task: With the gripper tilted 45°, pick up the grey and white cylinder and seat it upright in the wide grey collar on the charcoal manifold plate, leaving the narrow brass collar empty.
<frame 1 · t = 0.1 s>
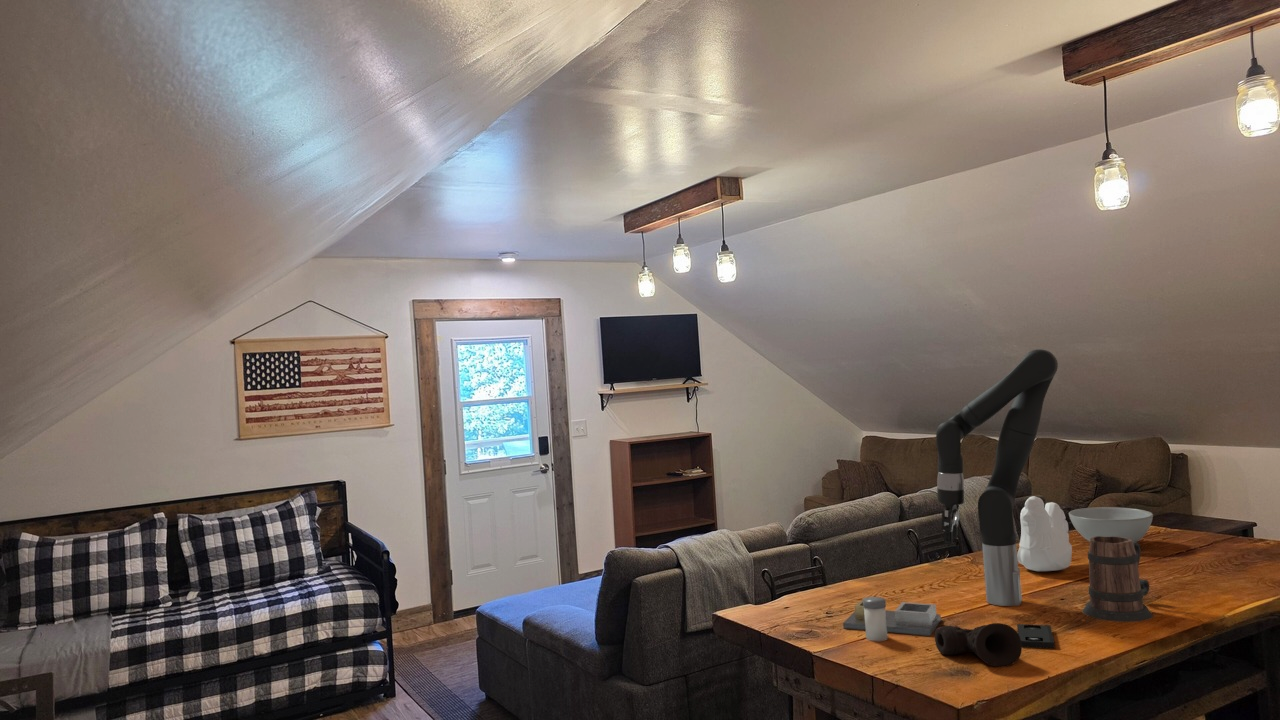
hand: (950, 541, 252), 17 cm above the table, tool pointing down, fingers open, 8 cm apart
manifold plate: (892, 624, 232), on the table
white figurine: (1052, 569, 279), on the table
decorative bowl: (1112, 547, 306), on the table
vhs tape: (1035, 641, 212), on the table
tankard: (1123, 611, 230), on the table
pipe: (978, 658, 202), on the table
grey and white cylinder: (876, 638, 221), on the table
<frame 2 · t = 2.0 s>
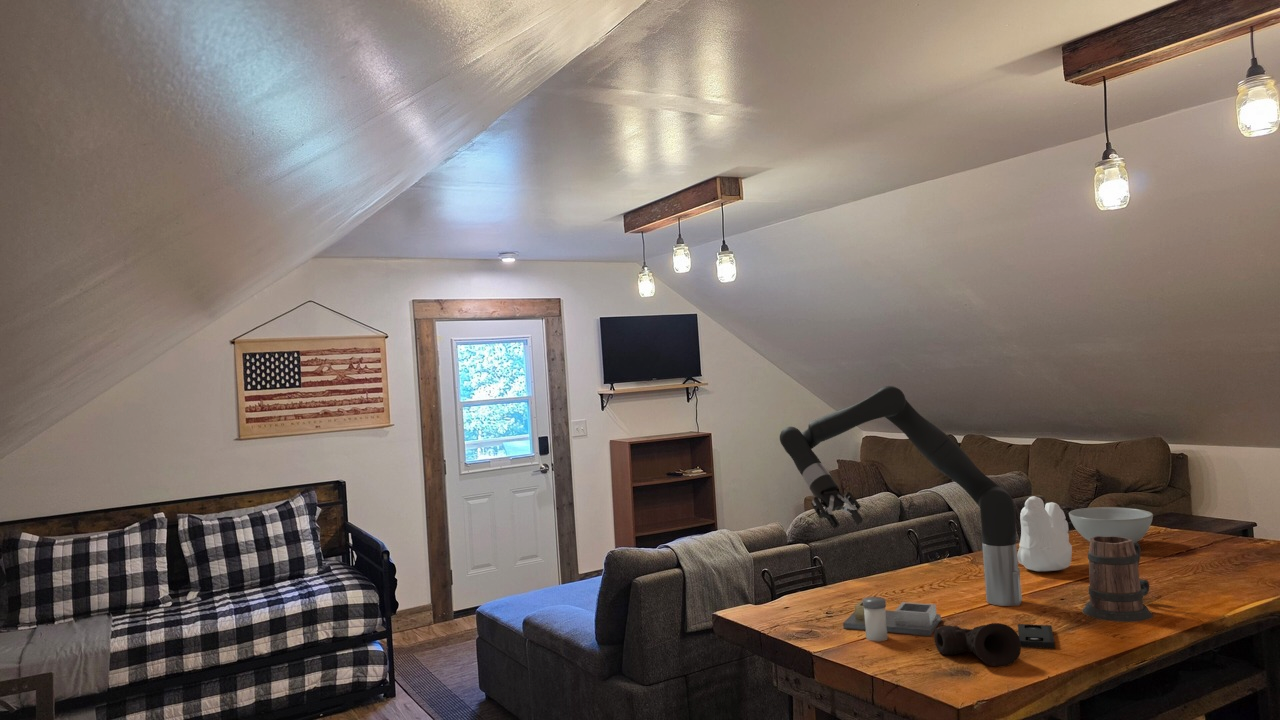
hand: (849, 525, 240), 26 cm above the table, tool tilted 45°, fingers open, 8 cm apart
nothing on the table moved.
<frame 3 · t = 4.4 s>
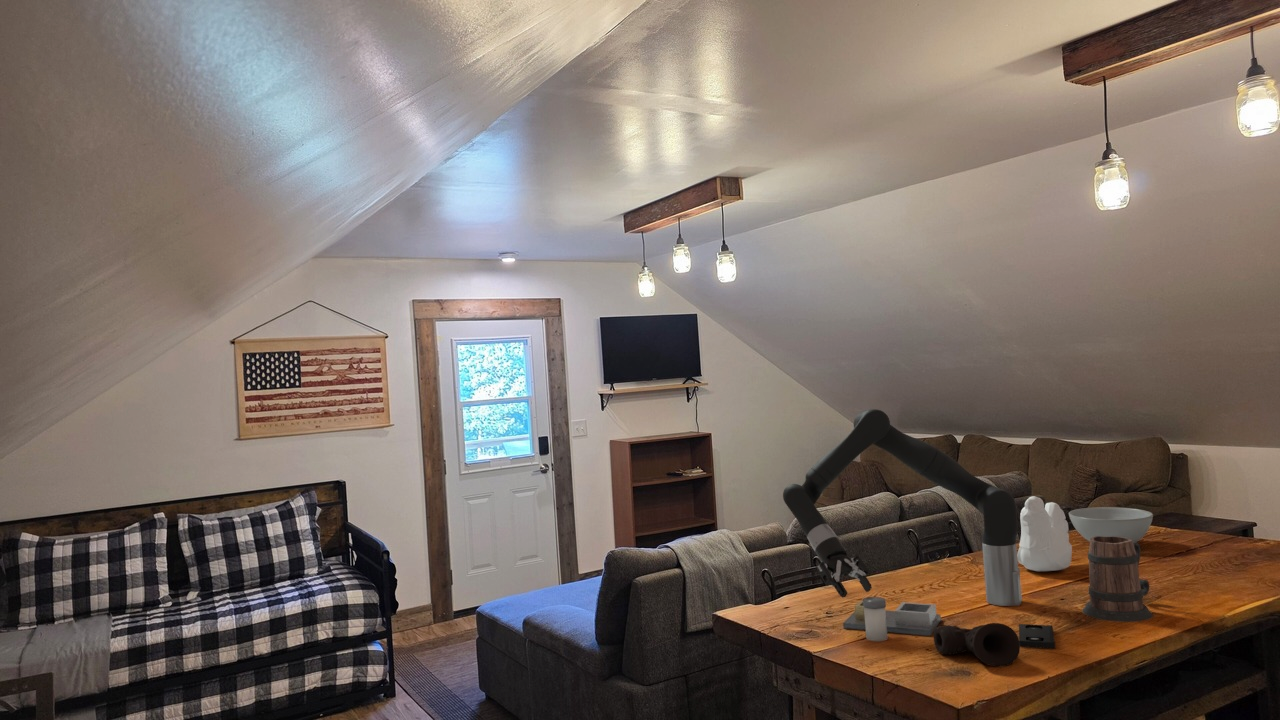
hand: (857, 592, 227), 11 cm above the table, tool tilted 45°, fingers open, 8 cm apart
nothing on the table moved.
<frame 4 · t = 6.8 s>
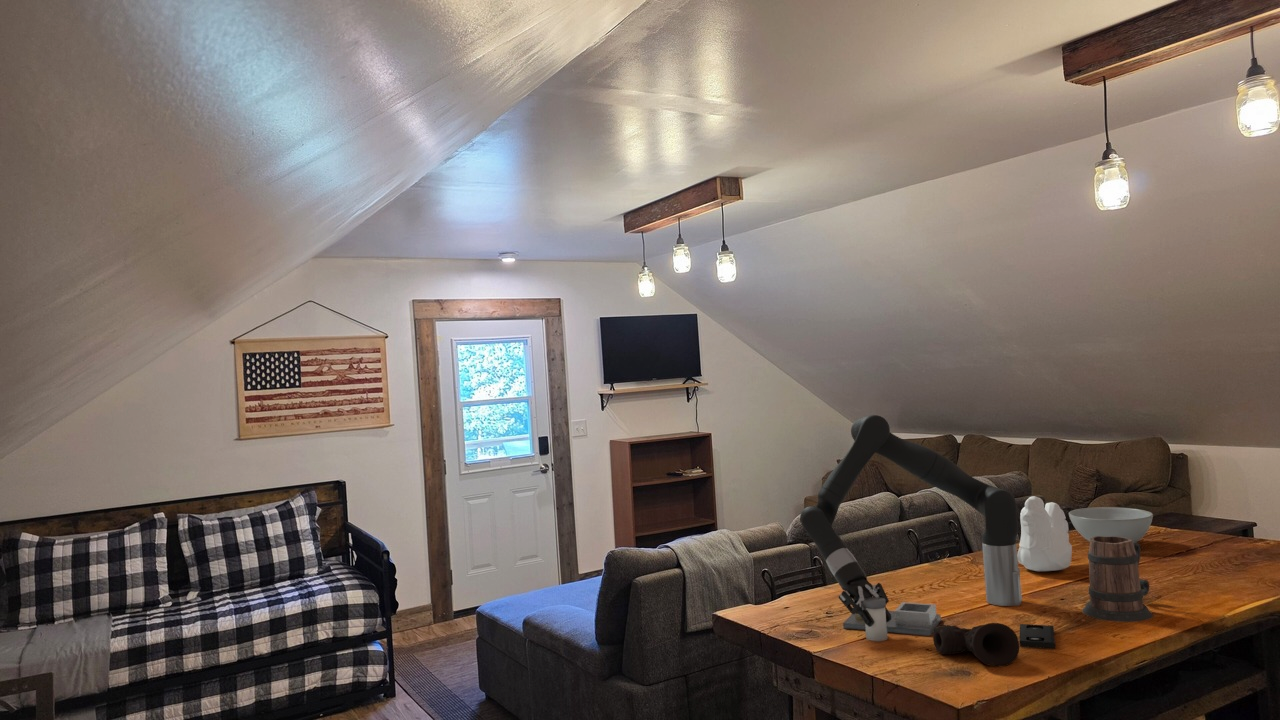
hand: (880, 622, 220), 4 cm above the table, tool tilted 45°, fingers closed on grey and white cylinder, 5 cm apart
grey and white cylinder: (876, 637, 221), on the table, touching gripper
everything else where it was.
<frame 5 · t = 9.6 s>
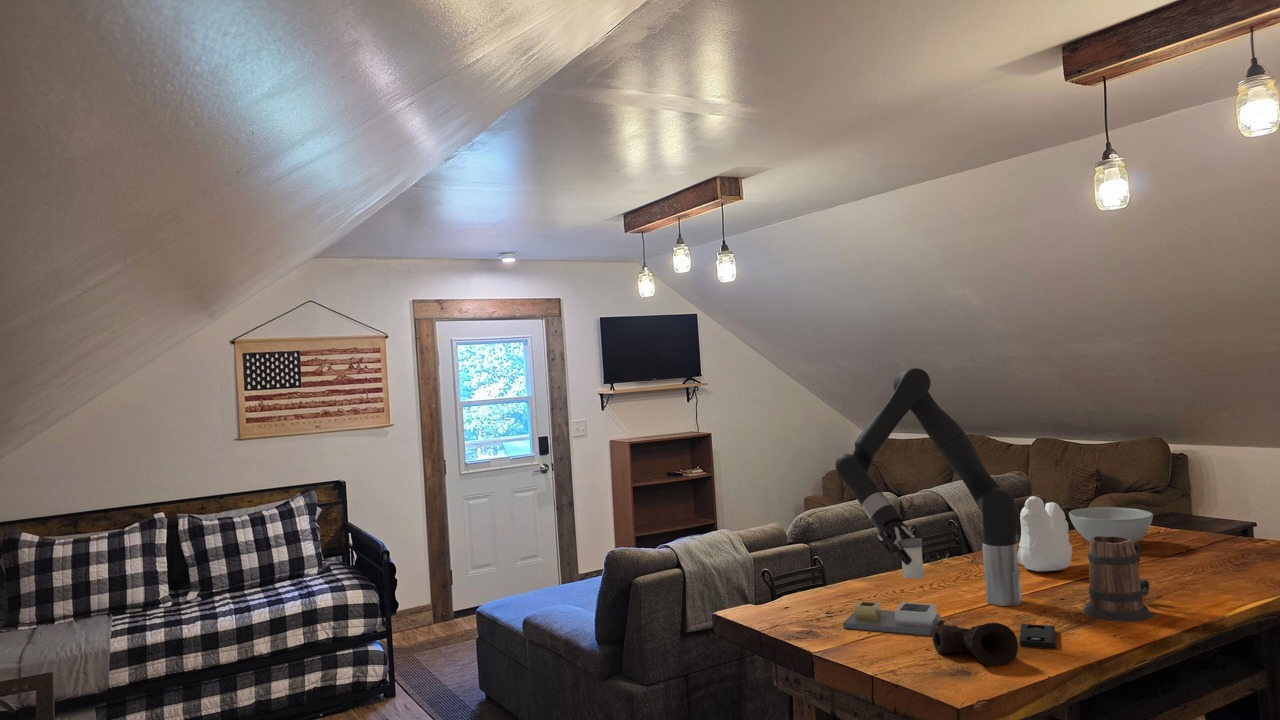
hand: (917, 560, 227), 18 cm above the table, tool tilted 45°, fingers closed on grey and white cylinder, 5 cm apart
grey and white cylinder: (913, 576, 229), point 14 cm above the table, touching gripper
everything else where it was.
when the fingers open (8 cm above the table, at t = 12.6 s): grey and white cylinder drops 2 cm, resting on manifold plate.
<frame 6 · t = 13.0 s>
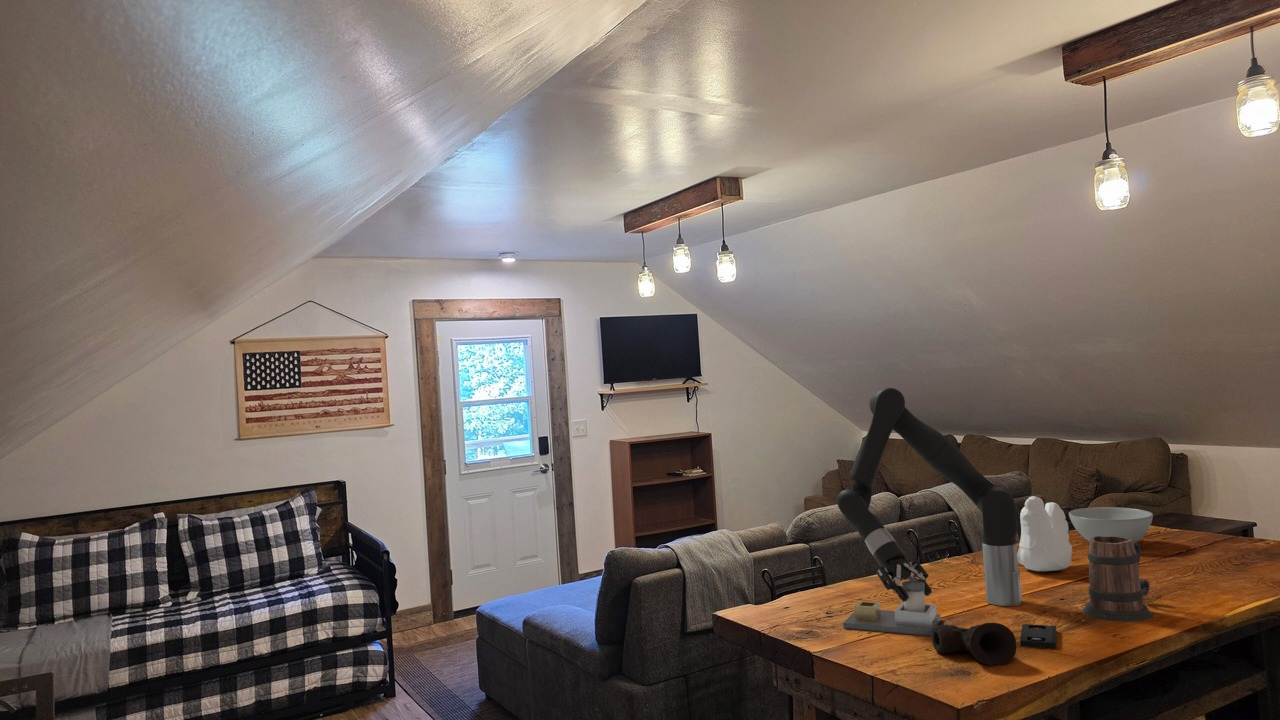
hand: (918, 597, 228), 8 cm above the table, tool tilted 45°, fingers open, 8 cm apart
grey and white cylinder: (915, 620, 229), point 2 cm above the table, touching manifold plate
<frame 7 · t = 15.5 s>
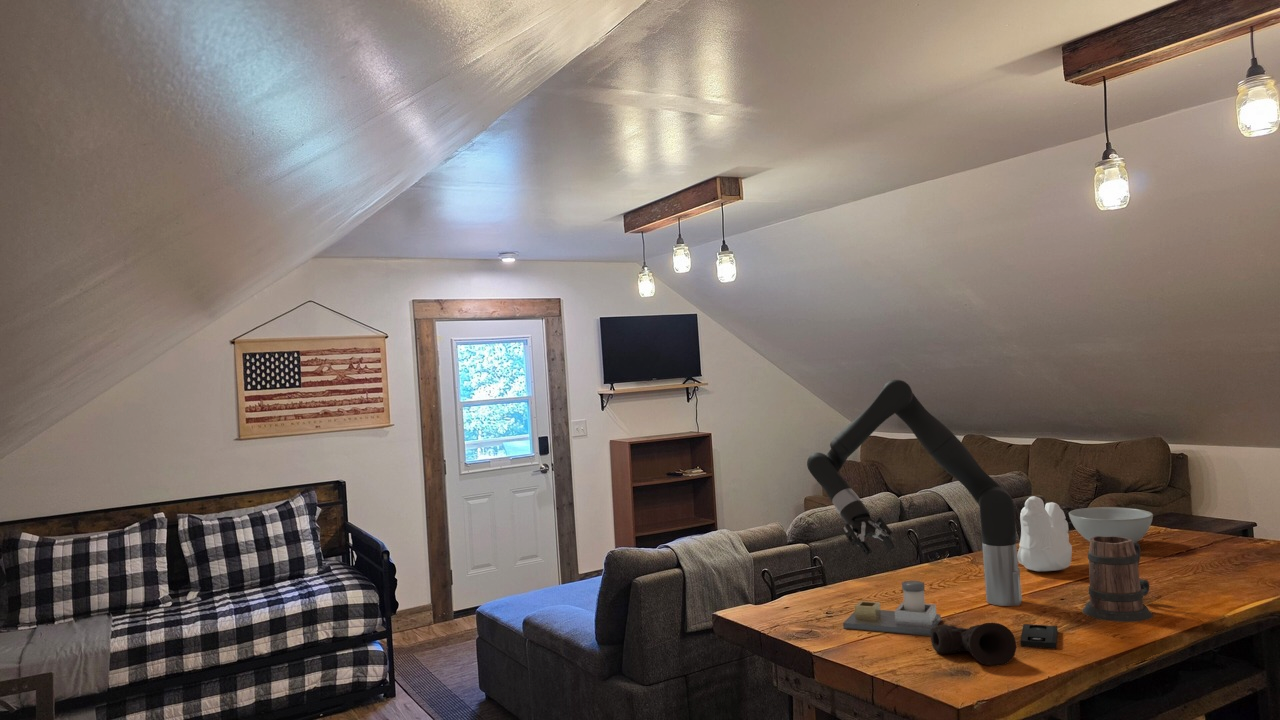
hand: (881, 552, 239), 18 cm above the table, tool tilted 45°, fingers open, 8 cm apart
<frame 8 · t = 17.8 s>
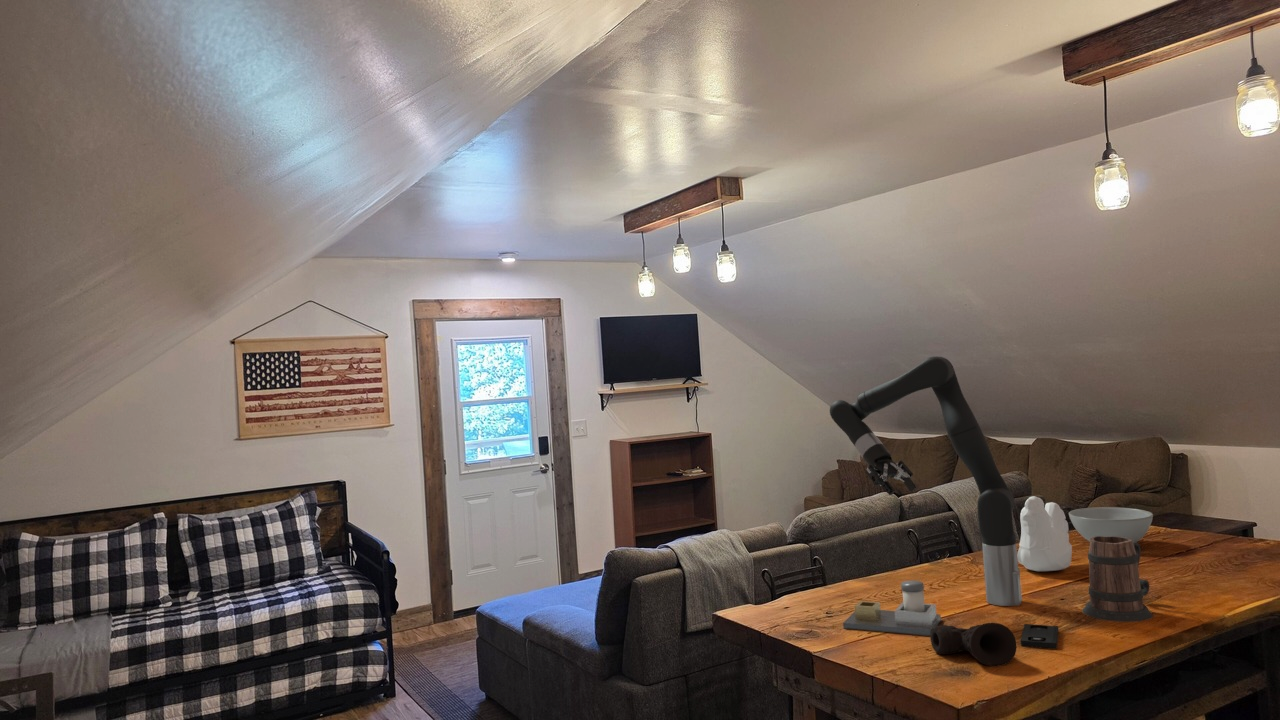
hand: (903, 491, 249), 34 cm above the table, tool tilted 45°, fingers open, 8 cm apart
at the end: grey and white cylinder 0.3 cm from the target spot on the manifold plate, point 1.6 cm above the manifold plate's base; grey and white cylinder tilted 1°; the gripper is holding nothing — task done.
